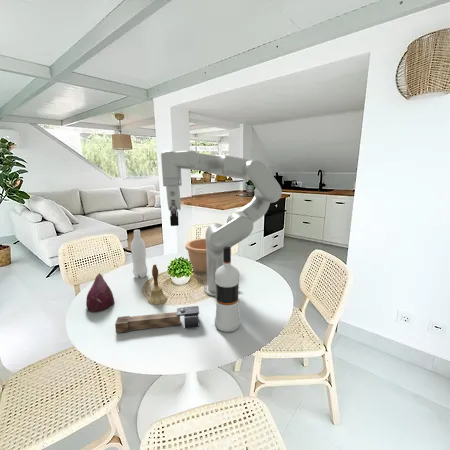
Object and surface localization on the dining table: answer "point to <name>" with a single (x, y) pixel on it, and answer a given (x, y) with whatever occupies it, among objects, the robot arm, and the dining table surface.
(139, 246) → the water bottle
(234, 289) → the vodka
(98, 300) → the vegetable
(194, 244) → the pottery
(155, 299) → the hand bell
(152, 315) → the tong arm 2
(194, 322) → the hinge block
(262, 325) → the dining table surface
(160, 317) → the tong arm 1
